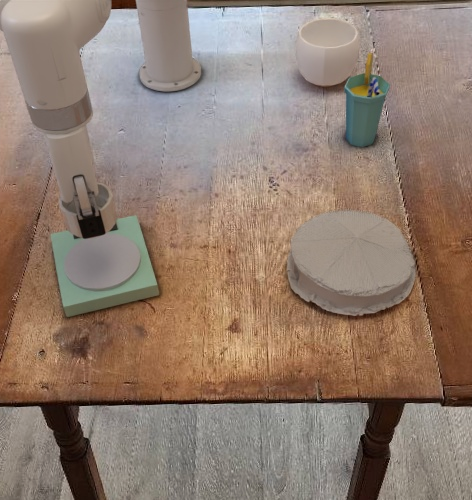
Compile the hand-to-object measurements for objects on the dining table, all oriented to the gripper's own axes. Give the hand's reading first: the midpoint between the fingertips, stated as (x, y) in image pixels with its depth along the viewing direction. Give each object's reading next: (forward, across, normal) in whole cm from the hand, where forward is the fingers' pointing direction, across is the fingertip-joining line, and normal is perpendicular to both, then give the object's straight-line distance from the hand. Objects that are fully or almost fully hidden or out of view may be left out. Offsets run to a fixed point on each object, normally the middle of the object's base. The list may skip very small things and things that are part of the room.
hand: (89, 215), depth 96 cm
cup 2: (+12, -18, +50) cm, 55 cm away
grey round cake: (+12, +11, +36) cm, 40 cm away
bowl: (+1, 0, 0) cm, 1 cm away
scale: (+12, -1, 0) cm, 12 cm away
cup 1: (+12, -39, +51) cm, 65 cm away
